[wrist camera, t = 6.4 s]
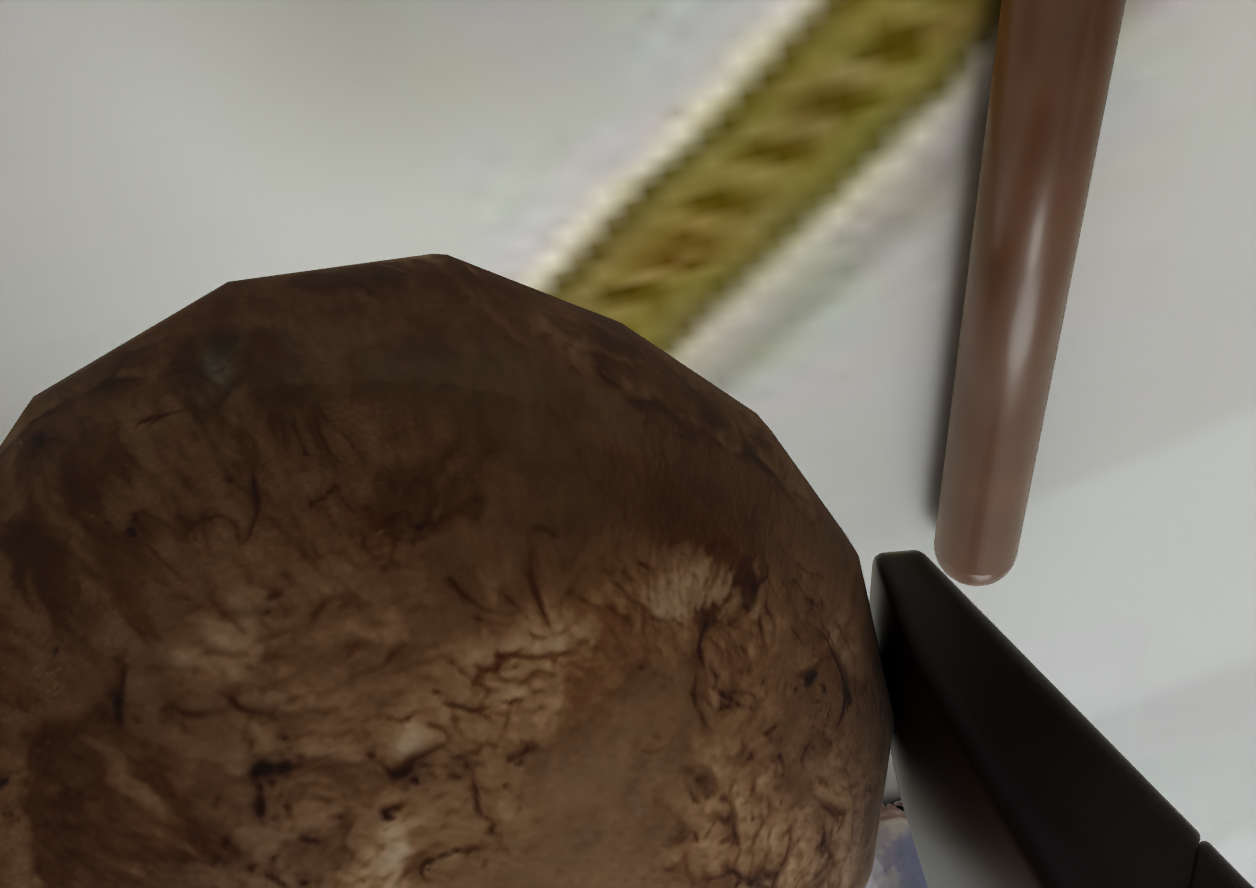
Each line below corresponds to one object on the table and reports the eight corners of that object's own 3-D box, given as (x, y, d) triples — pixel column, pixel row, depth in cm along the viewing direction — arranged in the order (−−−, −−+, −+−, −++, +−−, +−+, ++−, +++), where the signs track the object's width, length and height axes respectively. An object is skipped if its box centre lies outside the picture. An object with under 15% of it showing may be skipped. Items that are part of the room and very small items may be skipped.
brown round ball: (184, 1084, 12) (197, 1779, 6) (-208, 448, 10) (-706, 650, 4) (766, 729, 15) (1147, 1008, 9) (548, 155, 12) (865, 36, 7)
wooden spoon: (1104, 533, 23) (1133, 589, 22) (819, 557, 23) (831, 615, 22) (1581, -1257, 9) (1736, -1378, 8) (863, -1149, 9) (903, -1248, 8)
